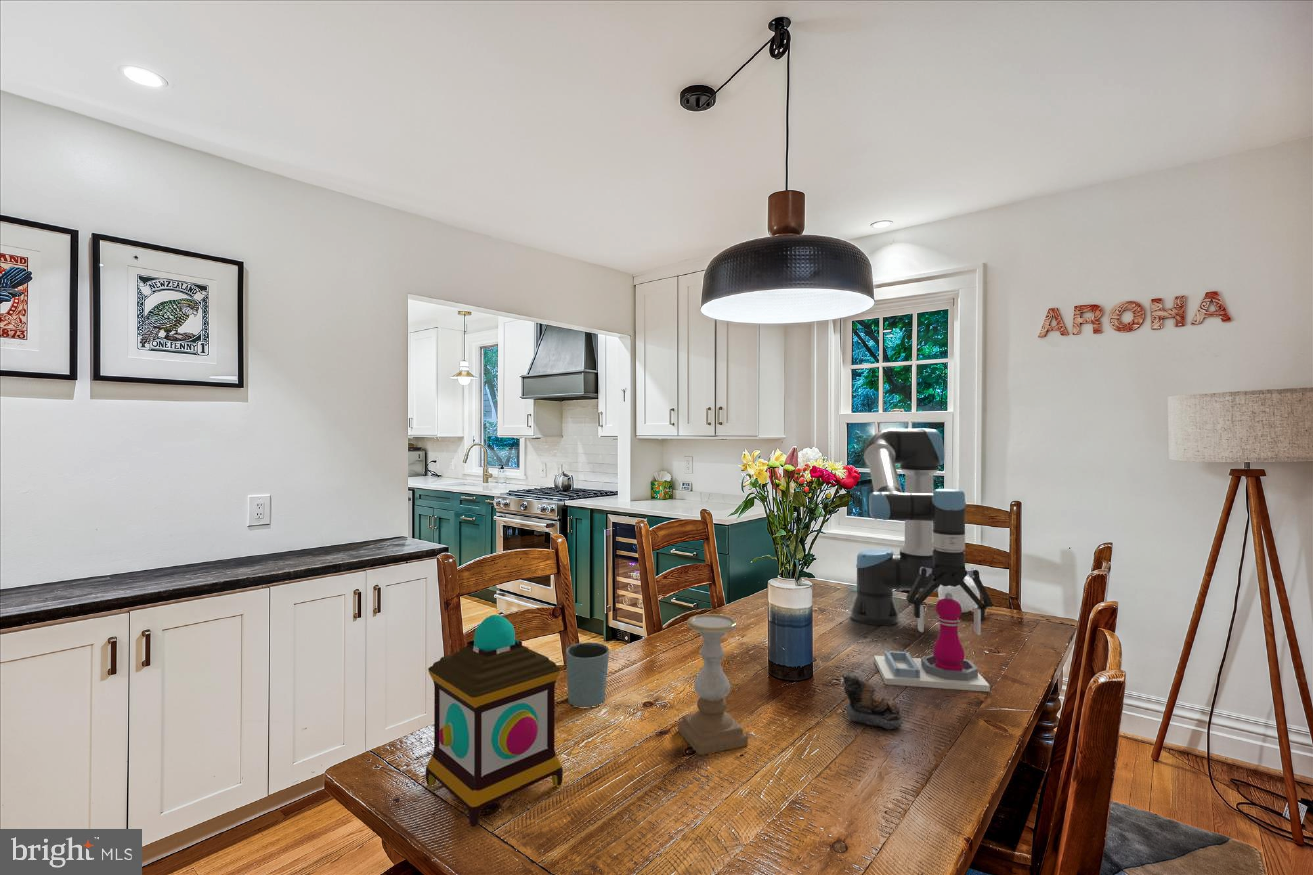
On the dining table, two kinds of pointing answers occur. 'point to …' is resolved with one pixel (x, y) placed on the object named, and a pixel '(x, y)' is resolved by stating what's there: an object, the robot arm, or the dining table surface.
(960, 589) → the geodesic sphere
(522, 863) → the dining table surface
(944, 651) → the pepper mill
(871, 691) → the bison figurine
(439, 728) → the decorative lantern
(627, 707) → the dining table surface
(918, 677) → the holder board
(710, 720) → the candle holder
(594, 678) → the blue grey cup
